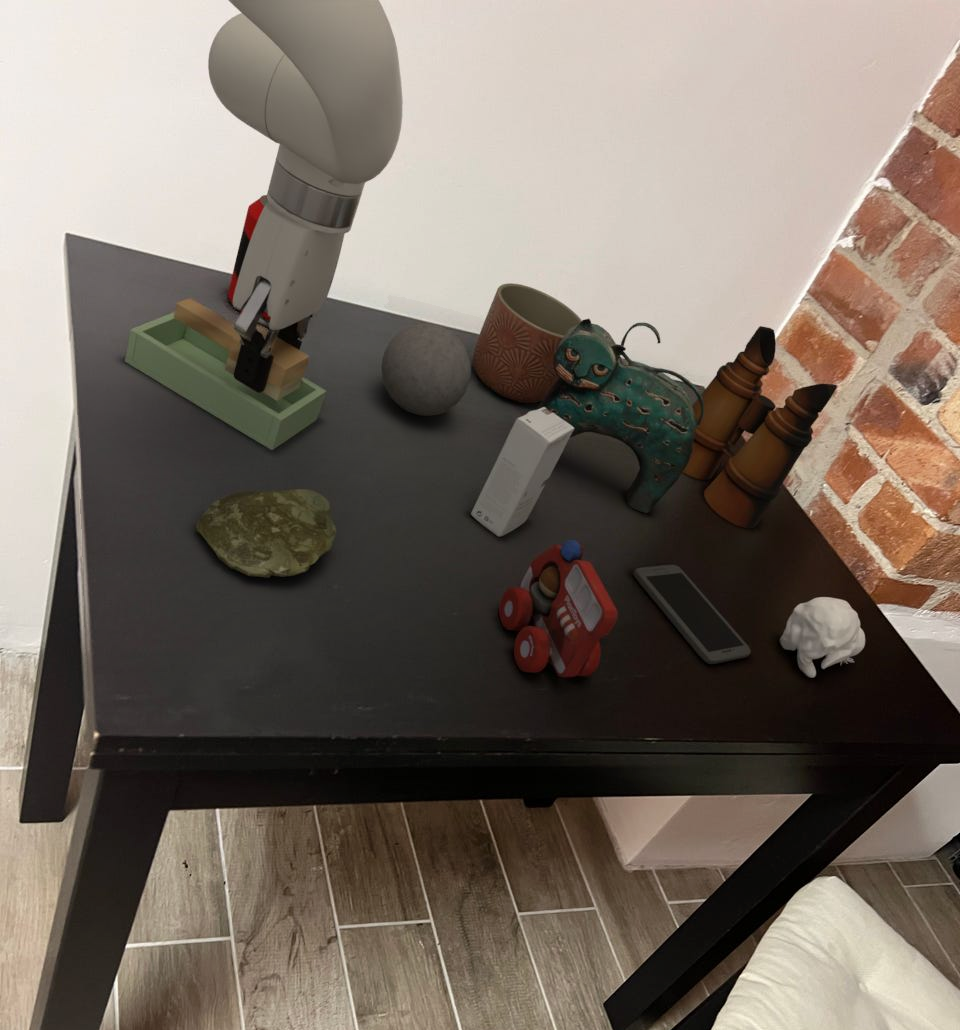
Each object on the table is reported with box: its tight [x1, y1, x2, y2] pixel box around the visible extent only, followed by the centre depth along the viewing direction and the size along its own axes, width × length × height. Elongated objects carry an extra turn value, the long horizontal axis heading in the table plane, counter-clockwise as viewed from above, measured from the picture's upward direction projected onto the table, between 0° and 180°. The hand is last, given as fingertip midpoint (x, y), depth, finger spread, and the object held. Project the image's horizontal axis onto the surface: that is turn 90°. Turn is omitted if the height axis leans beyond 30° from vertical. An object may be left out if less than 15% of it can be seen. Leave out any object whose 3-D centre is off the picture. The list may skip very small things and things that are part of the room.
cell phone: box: [632, 564, 752, 665], centre depth 98 cm, size 7×14×1 cm, turn 32°
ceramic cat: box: [537, 318, 704, 514], centre depth 104 cm, size 20×6×20 cm, turn 81°
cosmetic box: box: [470, 407, 574, 538], centre depth 93 cm, size 6×4×12 cm
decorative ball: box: [381, 322, 471, 417], centre depth 102 cm, size 10×10×10 cm
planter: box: [472, 282, 583, 404], centre depth 117 cm, size 12×12×11 cm
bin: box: [124, 311, 327, 451], centre depth 91 cm, size 17×9×4 cm, turn 68°
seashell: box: [195, 488, 337, 579], centre depth 77 cm, size 10×7×10 cm
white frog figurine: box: [779, 596, 866, 679], centre depth 100 cm, size 6×8×12 cm
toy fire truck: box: [498, 539, 619, 678], centre depth 81 cm, size 7×12×10 cm, turn 16°
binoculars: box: [682, 325, 838, 529], centre depth 118 cm, size 18×8×20 cm, turn 31°
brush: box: [173, 297, 310, 401], centre depth 89 cm, size 13×5×4 cm, turn 68°
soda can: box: [227, 194, 271, 319], centre depth 104 cm, size 8×8×12 cm
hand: (263, 375), depth 90 cm, fingers closed on brush, 4 cm apart
